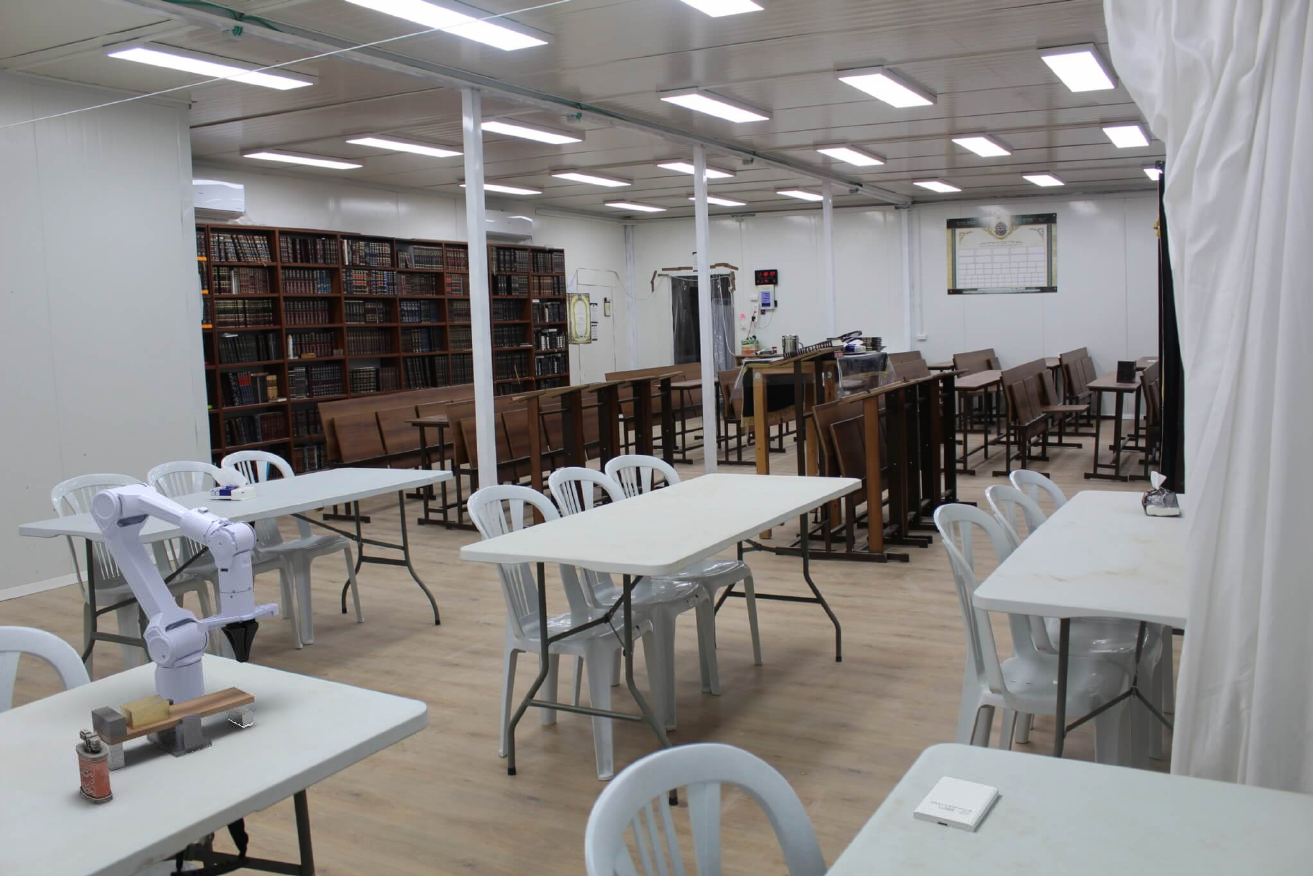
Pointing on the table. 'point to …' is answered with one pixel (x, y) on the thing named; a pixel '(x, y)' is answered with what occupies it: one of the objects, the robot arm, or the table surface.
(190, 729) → the stand
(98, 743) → the lighter
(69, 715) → the table surface
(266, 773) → the table surface
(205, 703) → the beam
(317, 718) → the table surface
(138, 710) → the block
